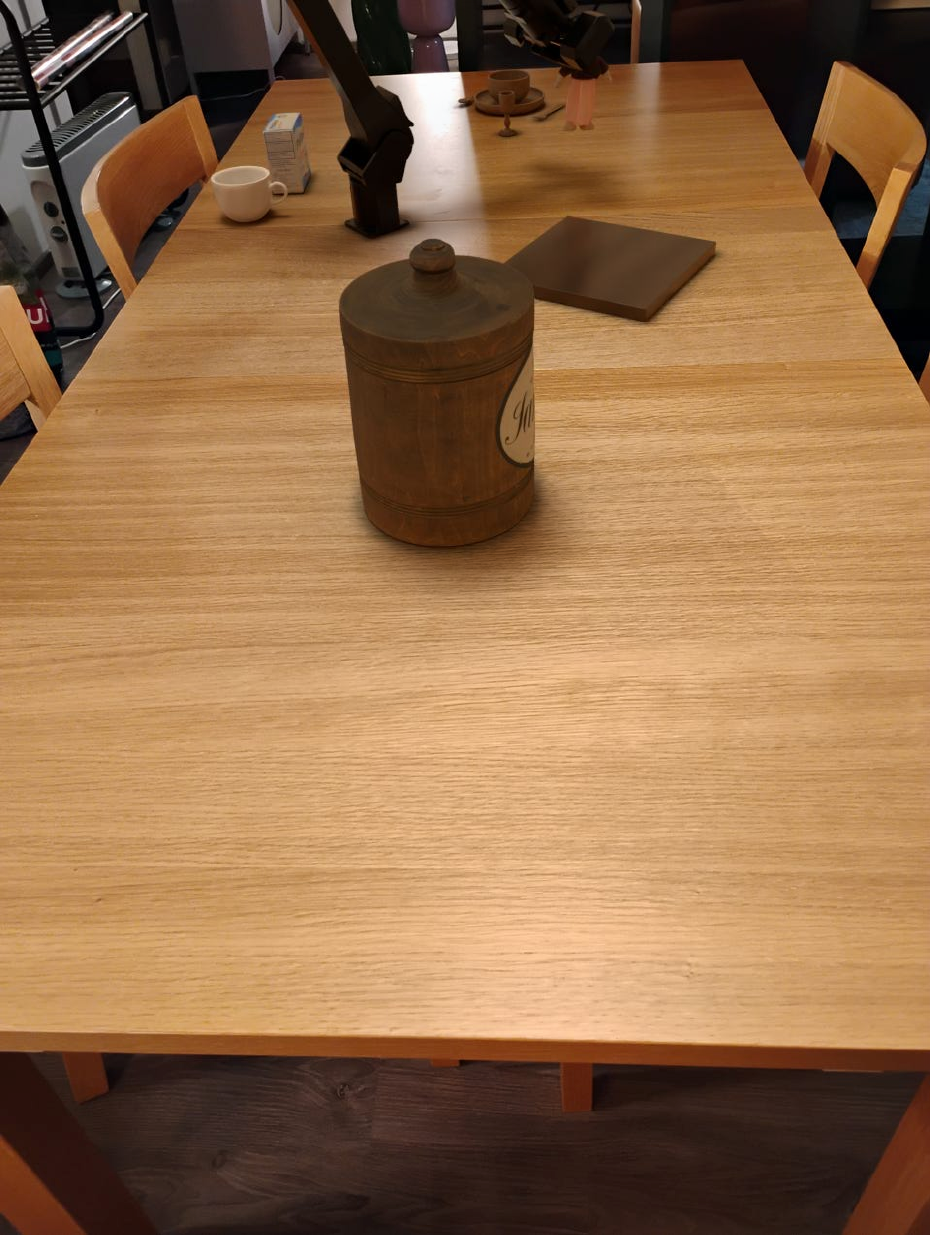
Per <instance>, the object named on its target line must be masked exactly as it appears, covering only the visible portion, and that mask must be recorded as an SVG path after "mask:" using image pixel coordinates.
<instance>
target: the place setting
mask: <svg viewBox="0 0 930 1235" xmlns="http://www.w3.org/2000/svg"><path fill="white" fill-rule="evenodd" d="M487 84H488V85H487V87H488V88H485V89H481V90H479V91H478V92H476V93H475V94H474V95H471V96H467V97H463V98H459V99H458V100H457V101H458V104H468V103H470V102H471V101H472V99H473V102H474V105H475V107H476V108H478V110H480V111H482V112H483V113H486V114H490V115H496V116H504V120H503V125H504V127H505V128H504V129H502V130H500V131H499V132H498V136H501V137H513V136H515V135H517V131H516V130H515V129H511V128H510V126H511V124H512V123H511V119H510V116H518V115H523V114H527V113H530V112H533V111H534V110H537V109H538V108H539V107H540V106H542V104H543V103H544V101H545V98H546V97H545V96H546V95H545V91H544V90H542V89H541V88H539V87H535V86H534V87H533V86H531V74H530V73H529V72H528V71H527V70H524V69H500V70H495V71H493V72H490V73H489V74H488V75H487ZM563 107H565V104H560V105H559V106H557V107H554V108H552V109H551V110H549V111H547V112H545V113H544V114H542V115H540V116H532V118H534V119H540V120H541V119H542V120H544V119H547V115H549V114H551V113H554V112H555V111H557V110H560V109H561V108H563Z"/></svg>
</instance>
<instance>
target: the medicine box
mask: <svg viewBox="0 0 930 1235" xmlns="http://www.w3.org/2000/svg"><path fill="white" fill-rule="evenodd" d="M304 127H305V126H304V122H303V116H302V113H301V112H284V113H283V112H281V113H274V114H272V115H271V117H270V119H269V120H268V123H267V124H266V125H265V128H264V129H263V131H262V137H263V144H264V150H265V155H266V159H267V165H268V170H269V172H270V178H271V183H273V182H281V183H283V184H284V185H285V186H286V188H287V192H288V194H303V193H304V191H305V189H306V186H307V184H308V181H309V179H310V176H311V173H312V172H311V166H310V159H309V154H308V147H307V141H306V134H305V128H304ZM273 193H274V195H275V194H276V195H284V190H283V188H282V187H281V186H276V187H275V188H274V189H273Z"/></svg>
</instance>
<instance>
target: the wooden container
mask: <svg viewBox="0 0 930 1235" xmlns="http://www.w3.org/2000/svg"><path fill="white" fill-rule="evenodd" d="M503 263H504V262H500V261H498V260H497V261H496V260H493V259H489V258H485V257H481V256H474V255H462V254H456V253H455V249H454V247H453V246H452V245H451V244H450V243H448V242H446V241H444V240H442V239H441V238H426V239H424V240H422V241H421V242H419V243H418V244H416V245H415V246H414V247H412V249H411V250H410V252H409V255H408V258H405V259H404V258H403V259H400V260H396V261H392V262H389V263H385V264H382V265H380V266H377V267H375V268H373V269H371V270H368V271H366V272H364V273H363V274H360V275H359V276H358V277H356V278H355V279H353V280H351V282H349V284H347V285H346V286H345V288H344V289H343V291H341V294H340V296H339V300H338V314H339V328H340V332H341V340H342V346H343V351H344V362H345V369H346V378H347V388H348V395H349V407H350V417H351V427H352V434H353V435H352V436H353V444H354V448H355V449H354V450H355V457H356V464H357V469H358V477H359V484H360V490H361V492H360V493H361V499H362V504H363V508H364V511H365V513H366V515H367V517H368V519H369V520H370V521H371V523H373V525H374V526H376V527H377V528H378V529H379V530H380V531H382V532H384V533H385V534H387V535H388V536H391V537H393V538H394V539H397V540H399V541H402V542H406V543H408V544H413V545H419V546H425V547H456V546H464V545H471V544H475V543H479V542H483V541H486V540H488V539H491V538H494V537H496V536H498V535H500V534H502V533H504V532H506V531H507V530H509V529H511V528H512V527H513V526H515V525H516V524H517V523H519V522H520V521H521V520H522V519H523V517H525V516H526V514H527V513H528V512H529V510H530V508H531V506H532V504H533V501H534V495H535V455H536V408H535V407H536V406H535V404H536V403H535V378H534V377H535V374H534V373H535V369H534V366H535V365H534V364H535V363H534V362H535V358H534V357H535V356H534V332H535V311H536V310H535V298H534V291H533V287H532V284H531V283H530V281H529V280H528V279H527V278H526V277H525V276H524V275H523V274H522V273H521V272H519V271H518V270H516V269H514V268H513V267H511V266H508V265H506V264H503Z"/></svg>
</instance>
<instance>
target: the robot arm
mask: <svg viewBox="0 0 930 1235" xmlns="http://www.w3.org/2000/svg"><path fill="white" fill-rule="evenodd" d="M284 1H285V3H286V5H287V6H288V8H289V9H290V11H291V13H292V15H293V17H294V19H295V20H296V22H297V24H298V26H299V28H300V29H301V31H302V32H303V35H304V36H305V38H306V39H307V42H308V43H309V45H310V47H311V48H312V50H313V52H314V54H315V56H316V58H317V59H318V61H319V63H320V64H321V66H322V68H323V70H324V71H325V73H326V75H327V76H328V79H329V80H330V82H331V83H332V86H333V87H334V89H335V91H336V93H337V94H338V97H339V98H340V100H341V104H342V111H343V116H344V121H345V125H346V127H347V130H348V132H349V137H348V138H347V140H346V142H345V143H344V145H343V146H342V148H341V150H340V151H339V152H338V154H337V156H336V159H337V162H338V164H339V166H340V168H341V170H342V172H344V173H346V174H348V182H349V192H350V201H351V207H352V208H351V209H352V216H353V217H352V218H349V219H346V220H344V225H345V226H346V227H348V228H350V229H352V230H354V231H356V232H358V233H360V234H362V235H363V236H366V237H368V238H375V237H378V236H381V235H384V234H386V233H390V232H392V231H395V230H398V229H402V228H404V227H406V226H409V225H411V222H410V221H411V220H410V219H408V218H406V217H403V216H402V215H400V207H399V197H398V184H401V183H402V182H403V180H404V174H405V169H406V165H407V161H408V159H409V158H410V156H411V154H412V151H413V148H414V145H415V137H414V134H413V131H412V129H411V127H414V126H415V123H414V122H413V121H411V119H409V117H408V116H407V114H406V112H405V108H404V106H403V103H402V101H401V99H400V96H399V95H398V94H397V93H394V92H392V91H391V90H389V89H387V88H385V87H383V86H381V85H379V84H377V85H376V86H375V84H374V83H373V81H372V79H371V77H370V75H369V74H368V71H367V69H366V67H365V65H364V64H363V62H362V60H361V58H360V57H359V55H358V53H357V51H356V49H355V47H354V45H353V44H352V42H351V40H350V38H349V36H348V33H347V32H346V30H345V28H344V26H343V25H342V23H341V21H340V19H339V17H338V15H337V13H336V12H335V10H334V8H333V6H332V4H331V3H330V1H329V0H284ZM498 2H499V3H500V4H501V5H502V6H503V7H504V10H503V11H502V12H503V14H504V15H505V16H506V19H505V20H504V22H503V35H504V36H505V38H506V39H507V40H508V41H509V42H510V43H511V44H512V45H514V46H517V47H520V48H523V46H524V45H525V40H527V41H528V42H531V44H532V45H531V46H530V50H529V51H530V53H532V54H534V55H537V56H539V57H542V58H544V59H546V60H548V61H551V62H553V63H556V64H558V65H560V66H563V65H564V66H567V67H569V68H571V69H574V70H576V71H578V72H580V73H583V74H585V75H587V76H589V77H592V78H594V79H595V80H597V79H599V77H600V76H601V69H600V67H599V64H598V61H597V58H596V56H599V54H600V51H602V49H603V47H604V46H606V43H607V42H608V41H609V39H610V37H611V36H612V35H613V33H614V32H615V25H614V24H613V22H612V20H611V19H610V18H609V17H608V16H607V14H604V13H600V12H597V11H594V10H586V11H581V13H576V14H574V12H575V10H576V9H577V8H578V6H579V3H578V2H577V0H498ZM570 14H574V15H573V16H572V17H571V16H570ZM523 31H524V32H523ZM522 32H523V34H522ZM521 34H522V36H523V38H524V39H523V38H522V37H521Z"/></svg>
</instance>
